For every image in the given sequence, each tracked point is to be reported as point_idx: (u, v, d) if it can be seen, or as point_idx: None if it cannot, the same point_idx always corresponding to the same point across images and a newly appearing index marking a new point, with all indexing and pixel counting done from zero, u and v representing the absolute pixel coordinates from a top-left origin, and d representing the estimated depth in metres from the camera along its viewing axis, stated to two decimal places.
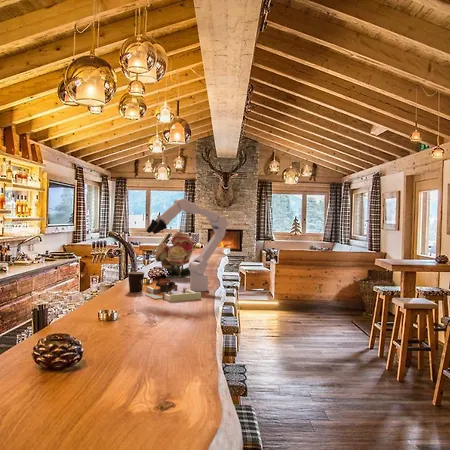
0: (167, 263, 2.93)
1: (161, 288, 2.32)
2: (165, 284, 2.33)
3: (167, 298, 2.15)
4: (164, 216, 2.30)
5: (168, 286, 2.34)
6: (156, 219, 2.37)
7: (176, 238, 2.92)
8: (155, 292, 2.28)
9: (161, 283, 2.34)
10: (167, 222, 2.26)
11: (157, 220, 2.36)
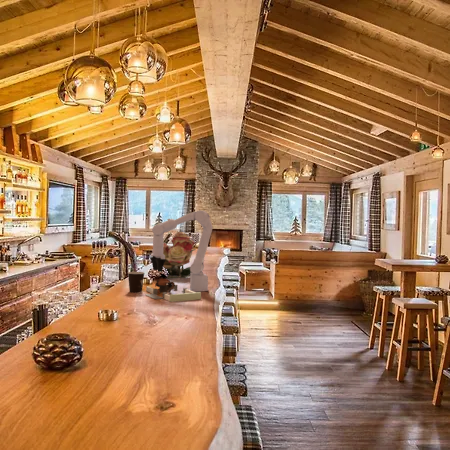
0: (167, 263, 2.93)
1: (160, 288, 2.32)
2: (164, 284, 2.33)
3: (167, 298, 2.15)
4: (156, 252, 2.43)
5: (167, 286, 2.33)
6: (152, 254, 2.50)
7: (176, 238, 2.93)
8: (155, 292, 2.28)
9: (160, 283, 2.33)
10: (163, 257, 2.40)
11: None
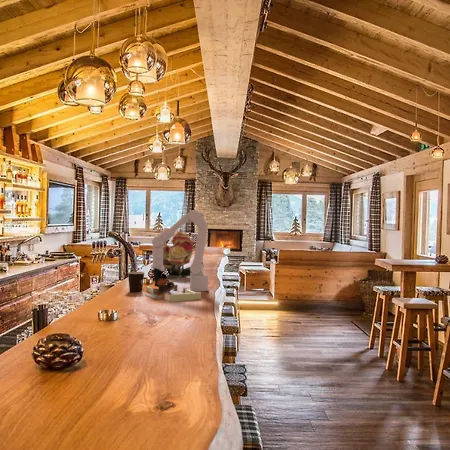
0: (168, 263, 2.93)
1: (160, 288, 2.32)
2: (164, 284, 2.33)
3: (167, 298, 2.15)
4: (156, 264, 2.43)
5: (167, 286, 2.33)
6: (151, 265, 2.50)
7: (177, 238, 2.93)
8: (155, 292, 2.28)
9: (160, 283, 2.33)
10: (163, 269, 2.40)
11: (153, 266, 2.50)
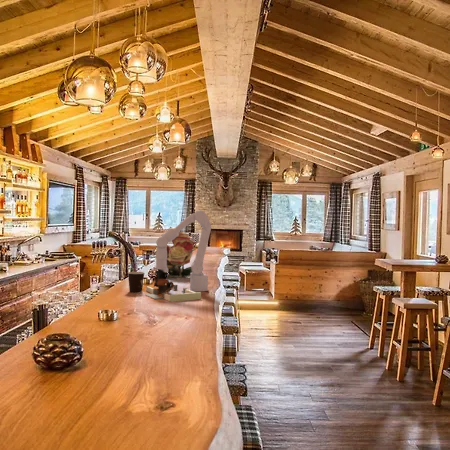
0: (168, 263, 2.93)
1: (159, 288, 2.31)
2: (163, 284, 2.32)
3: (167, 298, 2.15)
4: (159, 265, 2.39)
5: (166, 286, 2.33)
6: None
7: (177, 238, 2.93)
8: (155, 292, 2.28)
9: (159, 283, 2.33)
10: (166, 270, 2.36)
11: None
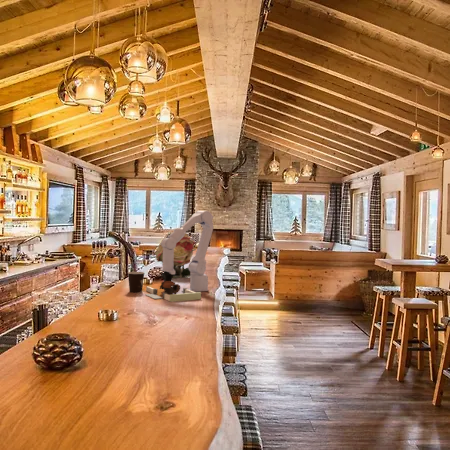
0: None
1: (165, 291, 2.24)
2: (170, 287, 2.25)
3: (167, 298, 2.15)
4: (166, 267, 2.32)
5: (173, 289, 2.25)
6: (161, 268, 2.39)
7: None
8: (155, 292, 2.28)
9: (165, 286, 2.25)
10: (173, 272, 2.28)
11: None
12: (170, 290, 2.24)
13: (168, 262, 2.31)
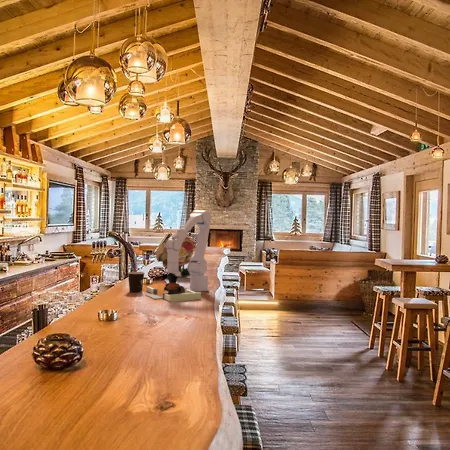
0: None
1: (169, 293, 2.20)
2: (173, 288, 2.21)
3: (167, 298, 2.15)
4: (171, 268, 2.27)
5: (177, 291, 2.21)
6: (166, 270, 2.34)
7: None
8: (155, 292, 2.28)
9: (169, 287, 2.21)
10: (178, 274, 2.23)
11: None
12: (174, 292, 2.20)
13: (173, 263, 2.27)
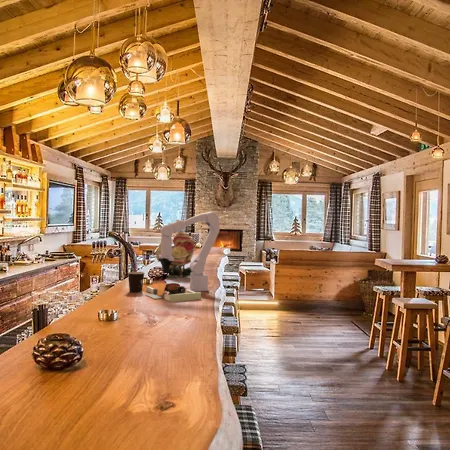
0: None
1: (170, 293, 2.19)
2: (174, 289, 2.20)
3: (167, 298, 2.15)
4: (164, 253, 2.36)
5: (178, 291, 2.20)
6: (159, 255, 2.43)
7: (178, 238, 2.93)
8: (155, 292, 2.28)
9: (170, 288, 2.20)
10: (171, 258, 2.33)
11: (161, 256, 2.43)
12: (175, 292, 2.19)
13: (166, 249, 2.36)
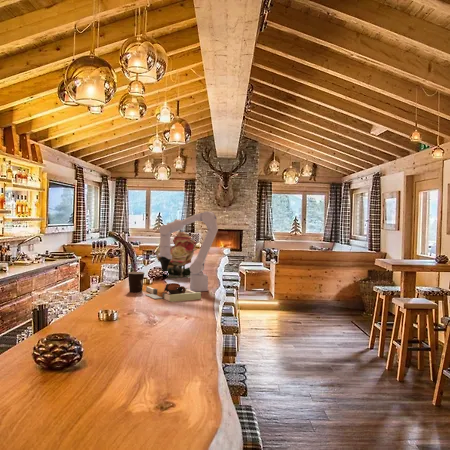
0: (169, 263, 2.94)
1: (170, 293, 2.19)
2: (175, 289, 2.20)
3: (167, 298, 2.15)
4: (163, 252, 2.44)
5: (178, 291, 2.20)
6: None
7: (178, 238, 2.94)
8: (155, 292, 2.28)
9: (170, 288, 2.20)
10: (170, 257, 2.40)
11: None
12: (175, 292, 2.19)
13: (165, 248, 2.43)
